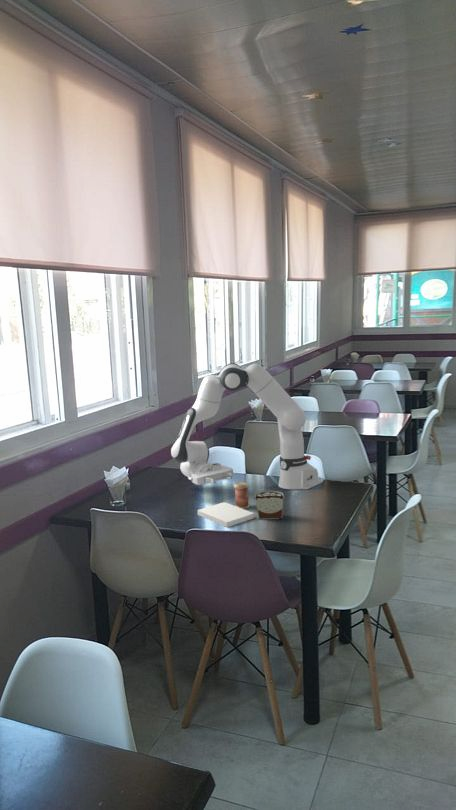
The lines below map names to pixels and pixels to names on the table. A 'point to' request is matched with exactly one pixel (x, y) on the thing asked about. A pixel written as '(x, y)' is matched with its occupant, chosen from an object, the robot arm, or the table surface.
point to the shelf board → (225, 514)
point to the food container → (269, 504)
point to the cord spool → (241, 495)
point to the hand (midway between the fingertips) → (222, 479)
